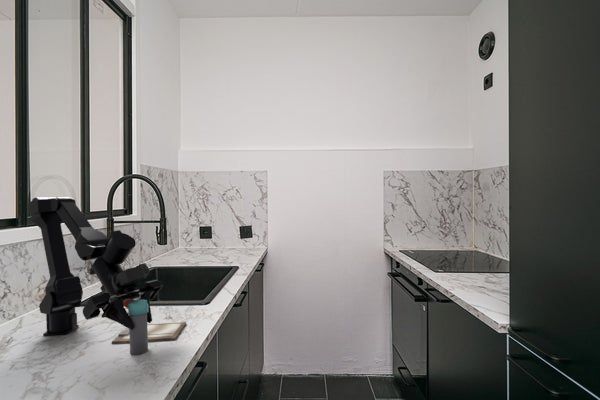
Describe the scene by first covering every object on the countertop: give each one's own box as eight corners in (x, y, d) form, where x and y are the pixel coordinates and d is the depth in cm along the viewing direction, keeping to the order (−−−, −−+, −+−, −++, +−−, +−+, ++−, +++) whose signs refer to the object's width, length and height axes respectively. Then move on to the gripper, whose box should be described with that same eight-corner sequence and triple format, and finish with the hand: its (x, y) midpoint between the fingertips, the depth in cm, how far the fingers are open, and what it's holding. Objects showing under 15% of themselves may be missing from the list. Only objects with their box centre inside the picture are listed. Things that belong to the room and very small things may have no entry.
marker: (126, 355, 84) (125, 305, 84) (133, 348, 88) (132, 300, 88) (146, 354, 85) (144, 304, 85) (152, 347, 89) (150, 299, 89)
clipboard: (111, 343, 92) (111, 339, 92) (130, 327, 104) (129, 323, 104) (175, 340, 93) (175, 335, 93) (186, 324, 105) (186, 320, 105)
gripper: (88, 260, 80) (121, 316, 75) (156, 249, 97) (187, 294, 91) (69, 292, 84) (99, 347, 79) (138, 276, 100) (167, 320, 95)
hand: (142, 325), depth 86 cm, fingers open, 5 cm apart
